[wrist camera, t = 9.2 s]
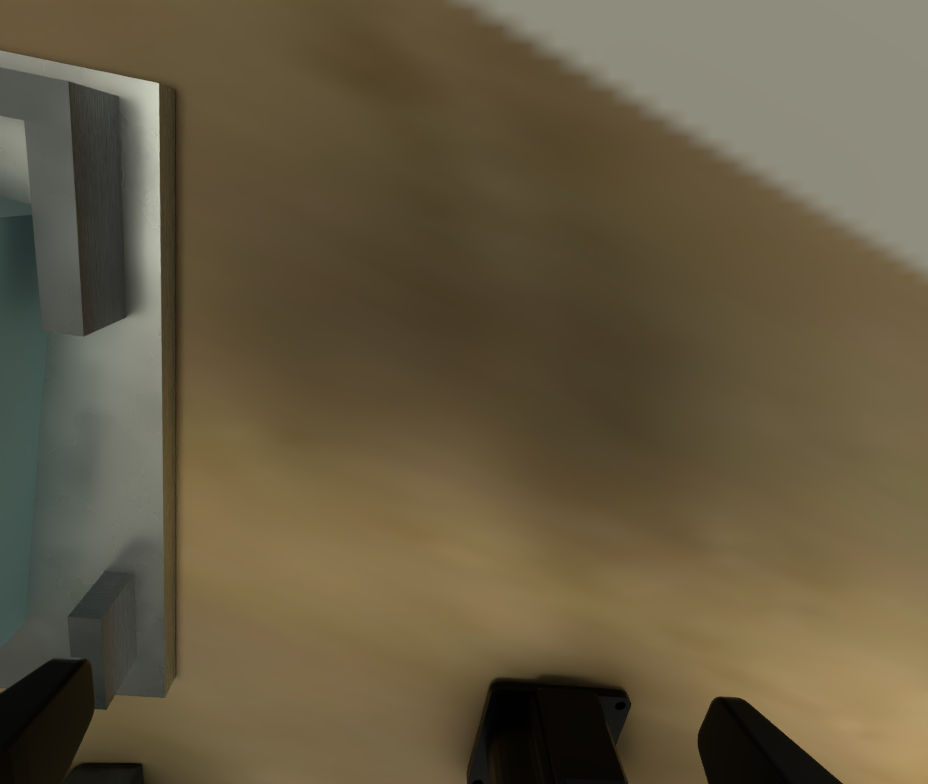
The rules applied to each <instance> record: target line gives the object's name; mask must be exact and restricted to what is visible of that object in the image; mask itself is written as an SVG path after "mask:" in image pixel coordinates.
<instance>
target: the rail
mask: <svg viewBox="0 0 928 784" xmlns="http://www.w3.org/2000/svg"><path fill="white" fill-rule="evenodd" d="M47 335H48V332H47V331H42V321H41V310H40V298H39V287H38V275H37V264H36V252H35V241H34V229H33V218H32V206H31V205H29V204H26V203H22V202H19V201H16V200H13V199H9V198H6V197H3V196H0V649H1V648H2V647H3V646H4V645H5V644H6V643H7V642H8V640H9V639H10V638H11V637H12V636H13V635H14V634H15V633H16V632H17V630H18V629H19V628H20V627H21V626H22V625H23V624H24V623H25V620H26V607H27V594H28V581H29V568H30V555H31V542H32V529H33V516H34V503H35V490H36V477H37V464H38V451H39V439H40V426H41V413H42V400H43V387H44V374H45V361H46V348H47Z"/></svg>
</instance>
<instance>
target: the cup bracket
mask: <svg viewBox="0 0 928 784" xmlns="http://www.w3.org/2000/svg"><path fill="white" fill-rule="evenodd" d="M0 196H3V197H6V198H9V199H13V200H16V201H19V202H22V203H26V204H29V205H31V206H32V218H33V229H34V241H35V252H36V264H37V275H38V287H39V298H40V310H41V321H42V331H47V332H48V335H47V348H46V361H45V374H44V387H43V400H42V413H41V426H40V439H39V451H38V464H37V477H36V490H35V503H34V516H33V529H32V542H31V555H30V568H29V581H28V594H27V607H26V620H25V623H24V624H23V625H22V626H21V627H20V628H19V629H18V630H17V632H16V633H15V634H14V635H13V636H12V637H11V638H10V639H9V640H8V642H7V643H6V644H5V645H4V646H3V647H2V648H1V649H0V688H9V687H10V686H11V685H13V684H14V683H16V682H17V681H19V680H20V679H22V678H23V677H25V676H26V675H28V674H29V673H31V672H32V671H34V670H35V669H37V668H38V667H40V666H41V665H43V664H44V663H46V662H47V661H49V660H51V659H53V658H56V657H78V658H86V659H88V660H89V661H90V662H91V664H92V671H93V682H94V693H95V709H103V710H106V709H107V708H108V706H109V704H110V703H111V701H112V699H113V698H114V696H115V695H128V696H144V697H160V698H165V697H166V695H167V693H168V691H169V689H170V687H171V685H172V683H173V681H174V679H175V677H176V665H175V89H172V88H170V87H167V86H165V85H162V84H160V83H155V82H150V81H146V80H141V79H136V78H131V77H126V76H121V75H117V74H112V73H107V72H102V71H97V70H92V69H88V68H83V67H78V66H73V65H68V64H63V63H58V62H54V61H49V60H44V59H39V58H34V57H29V56H25V55H20V54H15V53H10V52H5V51H0Z"/></svg>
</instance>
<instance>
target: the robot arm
mask: <svg viewBox="0 0 928 784" xmlns="http://www.w3.org/2000/svg"><path fill="white" fill-rule="evenodd" d="M630 707H631V702H630V700H629V697H628V695H627V693H626V692H625V691H622V690H613V689H599V688H585V687H571V686H558V685H544V684H530V683H516V682H496V683H494V684H493V685H492V686H491V687H490V689H489V692H488V696H487V699H486V703H485V707H484V711H483V714H482V718H481V722H480V726H479V729H478V733H477V737H476V741H475V745H474V748H473V752H472V756H471V760H470V763H469V767H468V771H467V784H628V781H627V778H626V775H625V772H624V769H623V766H622V764H621V761H620V758H619V755H618V752H617V749H616V746H615V745H616V743H617V740H618V738H619V735H620V733H621V730H622V728H623V725H624V722H625V720H626V717H627V715H628V712H629V710H630ZM94 709H95V693H94V682H93V671H92V664H91V662H90V661H89V660H88V659H86V658H78V657H56V658H53V659H51V660H49V661H47V662H46V663H44V664H43V665H41V666H40V667H38V668H37V669H35V670H34V671H32V672H31V673H29V674H28V675H26V676H25V677H23V678H22V679H20V680H19V681H17V682H16V683H14V684H13V685H11V686H10V687H9V688H7V689H6V690H4V691H3V692H1V693H0V784H62V783H63V781H64V779H65V777H66V774H67V772H68V770H69V768H70V766H71V763H72V761H73V759H74V757H75V755H76V753H77V750H78V748H79V746H80V744H81V742H82V740H83V737H84V735H85V733H86V731H87V729H88V727H89V724H90V722H91V719H92V717H93V713H94ZM698 749H699V754H700V757H701V760H702V764H703V767H704V770H705V774H706V777H707V780H708V784H843V783H841V782H840V781H839V780H838V779H837V778H836V777H834V776H833V775H832V774H831V773H830V772H829V771H827V770H826V769H825V768H824V767H823V766H822V765H820V764H819V763H818V762H817V761H816V760H815V759H813V758H812V757H811V756H810V755H809V754H807V753H806V752H805V751H804V750H803V749H802V748H800V747H799V746H798V745H797V744H796V743H795V742H793V741H792V740H791V739H790V738H789V737H788V736H786V735H785V734H784V733H783V732H782V731H781V730H779V729H778V728H777V727H776V726H775V725H774V724H772V723H771V722H770V721H769V720H768V719H767V718H765V717H764V716H763V715H762V714H761V713H760V712H758V711H757V710H756V709H755V708H754V707H752V706H751V705H750V704H749V703H748V702H746V701H745V700H743V699H741V698H736V697H716V698H715V699H714V700H713V701H712V702H711V704H710V707H709V709H708V711H707V714H706V716H705V718H704V721H703V723H702V725H701V727H700V730H699V733H698Z"/></svg>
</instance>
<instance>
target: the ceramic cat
mask: <svg viewBox="0 0 928 784" xmlns="http://www.w3.org/2000/svg"><path fill="white" fill-rule="evenodd" d="M62 784H143V780H142V770H141V765H117V764H84V765H82V766H79V767H77V768H75V769H74V770H72V771H71V773H70V774H69V775H68V777H67V778H66V779H65V781H64V782H63V783H62Z"/></svg>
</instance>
